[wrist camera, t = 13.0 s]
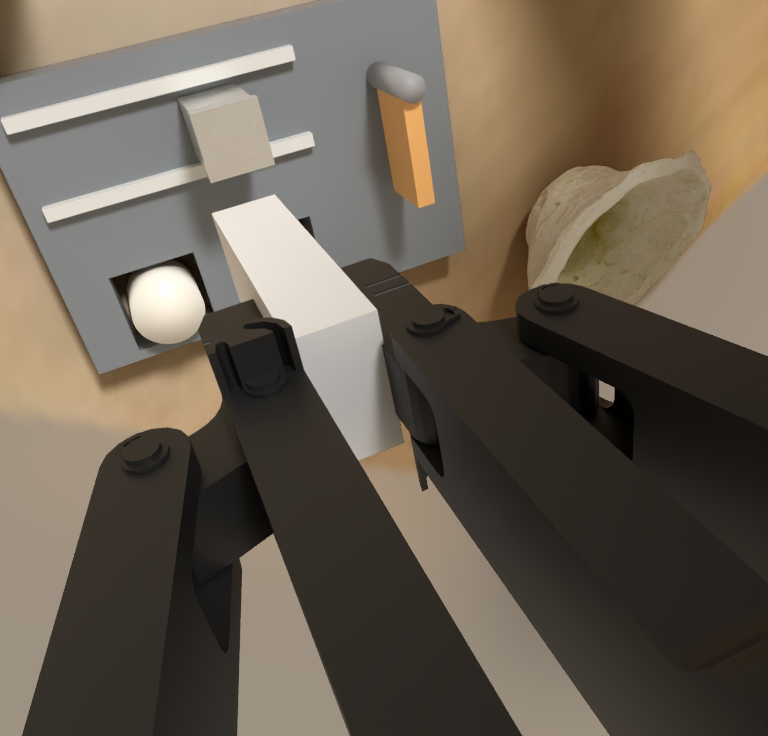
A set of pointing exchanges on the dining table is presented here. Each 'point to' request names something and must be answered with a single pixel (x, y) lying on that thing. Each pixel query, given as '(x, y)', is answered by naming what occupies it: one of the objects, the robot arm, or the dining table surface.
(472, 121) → the dining table surface
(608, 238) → the bowl
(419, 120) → the paddle
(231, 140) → the slider knob
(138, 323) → the button ivory
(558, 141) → the dining table surface
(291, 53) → the panel
